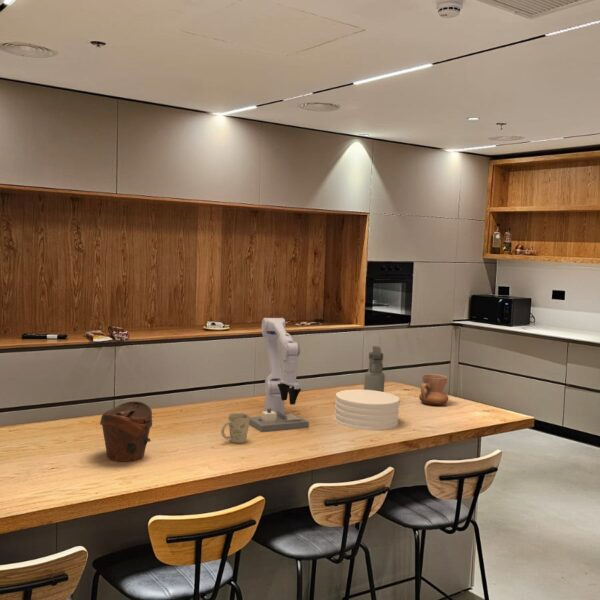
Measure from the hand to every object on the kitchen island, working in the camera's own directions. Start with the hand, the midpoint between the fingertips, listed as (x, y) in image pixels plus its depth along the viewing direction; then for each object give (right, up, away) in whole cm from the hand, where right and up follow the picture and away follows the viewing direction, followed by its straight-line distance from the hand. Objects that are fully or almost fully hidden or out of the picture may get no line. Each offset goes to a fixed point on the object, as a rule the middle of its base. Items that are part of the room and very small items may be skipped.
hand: (288, 402), depth 300 cm
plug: (-8, -10, -5) cm, 13 cm away
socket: (-4, -9, -2) cm, 11 cm away
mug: (-20, -11, -29) cm, 37 cm away
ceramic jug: (+72, -9, +54) cm, 90 cm away
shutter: (0, -7, 0) cm, 7 cm away
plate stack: (+34, -11, +12) cm, 38 cm away
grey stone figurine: (+41, -8, +48) cm, 63 cm away
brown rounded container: (-56, -11, -54) cm, 78 cm away
